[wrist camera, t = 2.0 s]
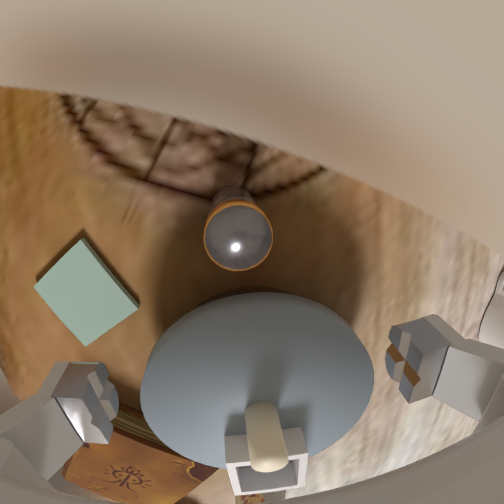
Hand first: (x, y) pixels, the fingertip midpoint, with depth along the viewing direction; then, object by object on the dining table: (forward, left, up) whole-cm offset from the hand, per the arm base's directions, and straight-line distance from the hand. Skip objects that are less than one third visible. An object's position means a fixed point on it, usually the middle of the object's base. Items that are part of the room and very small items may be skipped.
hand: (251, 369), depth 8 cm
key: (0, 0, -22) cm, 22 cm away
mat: (+18, -2, -22) cm, 28 cm away
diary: (+35, +21, -22) cm, 46 cm away
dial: (+8, +15, -16) cm, 23 cm away
